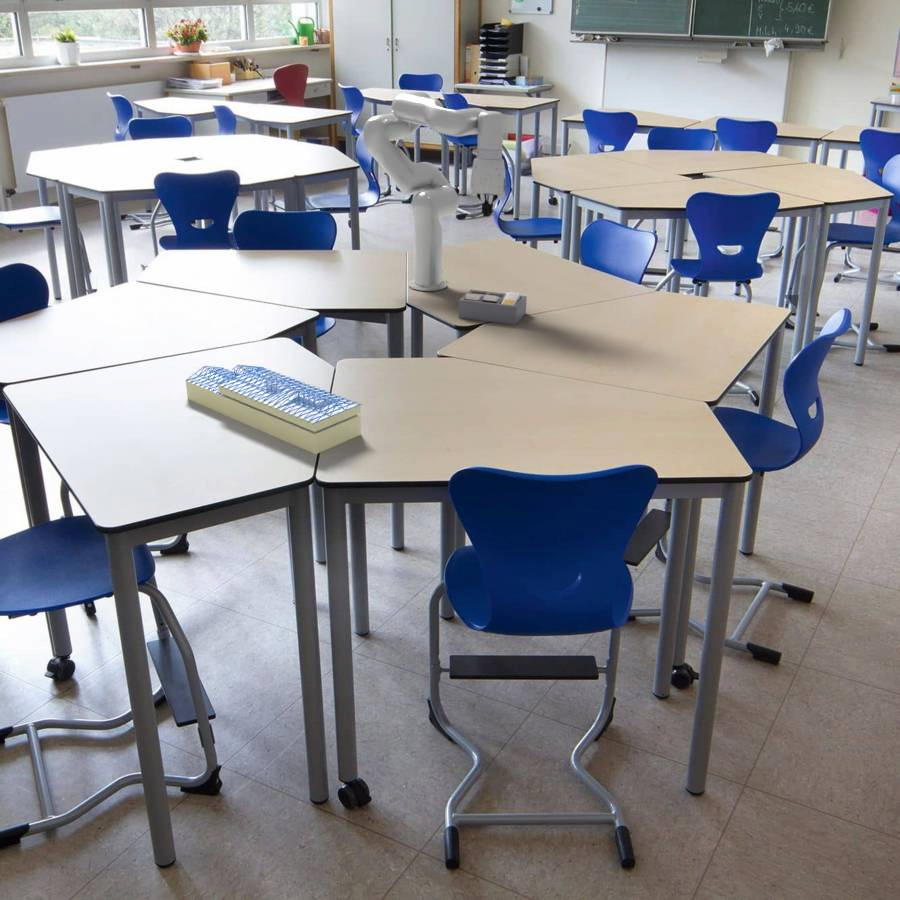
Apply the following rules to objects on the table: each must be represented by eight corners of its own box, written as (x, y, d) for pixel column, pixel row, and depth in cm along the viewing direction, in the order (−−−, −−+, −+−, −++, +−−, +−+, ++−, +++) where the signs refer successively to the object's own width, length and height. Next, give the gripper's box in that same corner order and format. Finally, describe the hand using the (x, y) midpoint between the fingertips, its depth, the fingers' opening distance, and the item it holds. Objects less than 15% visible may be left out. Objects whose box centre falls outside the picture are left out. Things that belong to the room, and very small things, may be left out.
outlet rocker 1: (473, 298, 305) (473, 293, 304) (485, 300, 304) (486, 294, 303) (465, 299, 297) (466, 293, 297) (478, 300, 296) (478, 294, 296)
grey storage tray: (470, 306, 308) (470, 289, 306) (525, 313, 304) (526, 296, 301) (458, 317, 298) (459, 300, 296) (515, 324, 293) (516, 307, 291)
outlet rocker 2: (489, 301, 303) (490, 296, 303) (502, 303, 302) (503, 297, 302) (483, 299, 296) (484, 294, 295) (495, 301, 294) (496, 295, 294)
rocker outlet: (507, 296, 301) (507, 291, 300) (520, 297, 300) (520, 292, 299) (500, 309, 295) (500, 304, 294) (513, 311, 294) (513, 306, 293)
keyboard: (362, 435, 221) (361, 392, 217) (313, 456, 211) (312, 412, 206) (234, 384, 247) (231, 345, 242) (185, 401, 236) (181, 360, 232)
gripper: (462, 154, 294) (460, 216, 302) (510, 158, 290) (507, 220, 298) (469, 151, 300) (467, 211, 308) (516, 154, 296) (513, 215, 304)
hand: (487, 215), depth 303 cm, fingers closed
